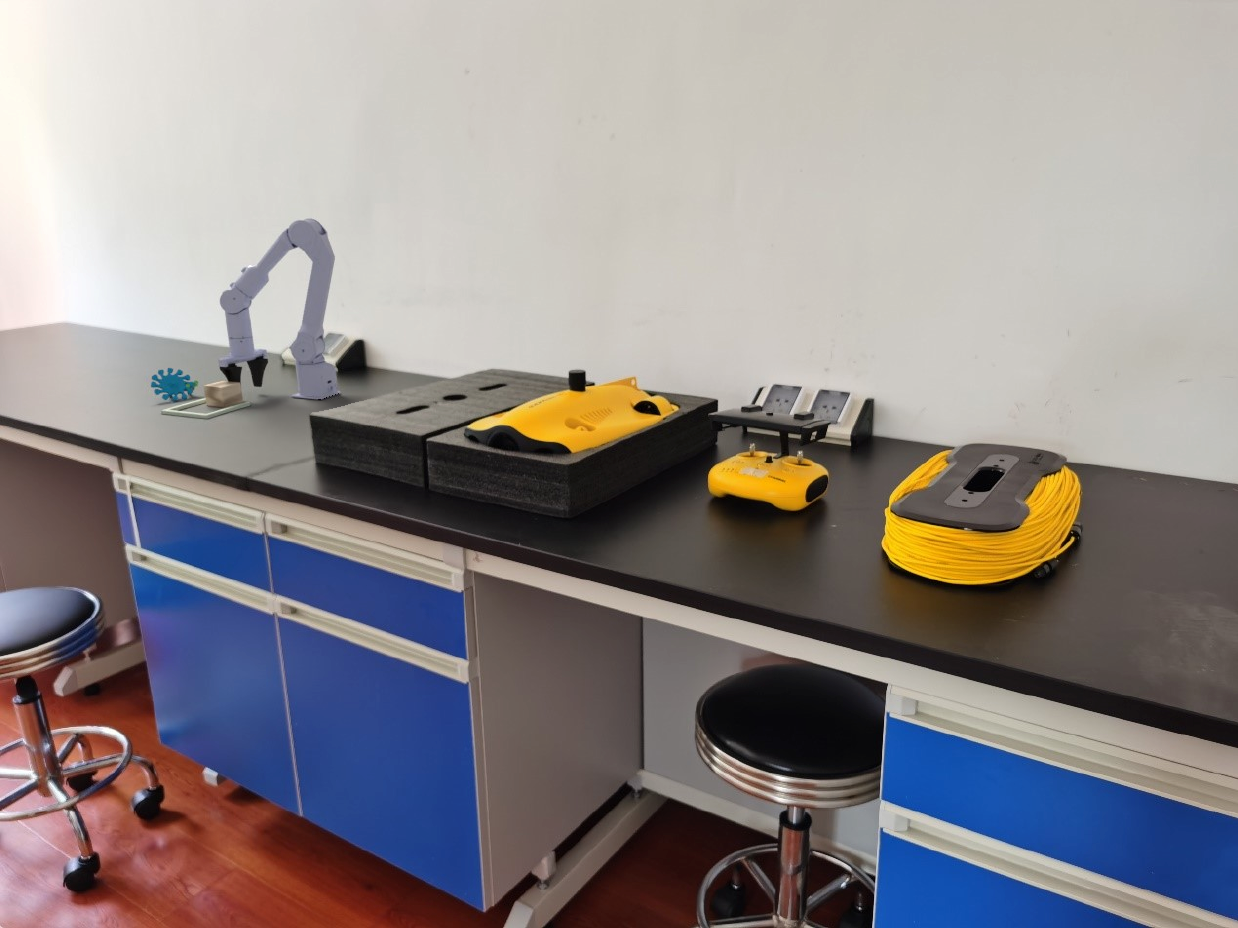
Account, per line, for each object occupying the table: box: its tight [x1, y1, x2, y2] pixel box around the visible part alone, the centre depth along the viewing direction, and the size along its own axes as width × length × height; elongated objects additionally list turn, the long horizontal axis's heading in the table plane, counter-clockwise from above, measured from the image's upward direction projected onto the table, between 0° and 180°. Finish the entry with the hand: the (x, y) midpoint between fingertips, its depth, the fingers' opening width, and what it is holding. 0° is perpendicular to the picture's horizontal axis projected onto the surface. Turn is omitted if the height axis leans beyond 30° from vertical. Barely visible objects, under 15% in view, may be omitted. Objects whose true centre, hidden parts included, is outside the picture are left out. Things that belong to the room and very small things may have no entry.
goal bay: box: [160, 397, 251, 420], centre depth 221 cm, size 14×14×1 cm
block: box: [203, 380, 244, 408], centre depth 226 cm, size 6×6×5 cm
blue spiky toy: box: [150, 367, 199, 402], centre depth 233 cm, size 11×6×10 cm
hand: (247, 389), depth 233 cm, fingers open, 7 cm apart
